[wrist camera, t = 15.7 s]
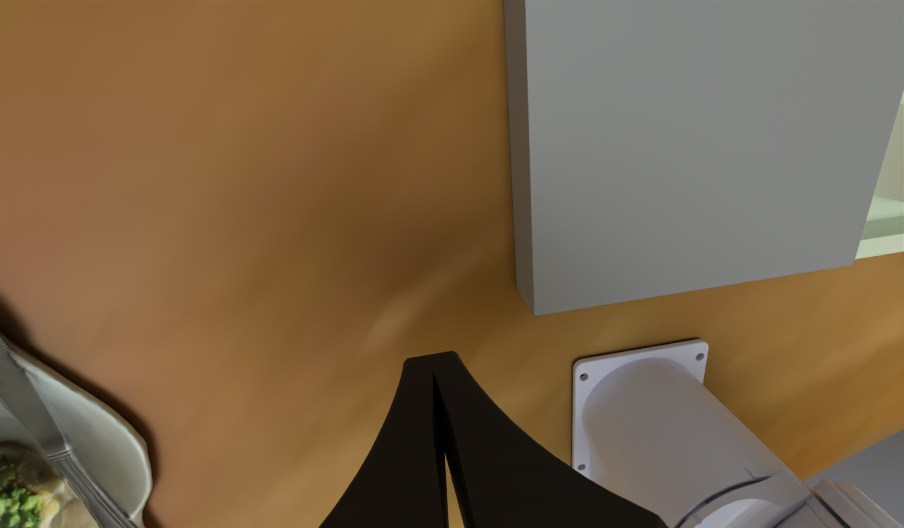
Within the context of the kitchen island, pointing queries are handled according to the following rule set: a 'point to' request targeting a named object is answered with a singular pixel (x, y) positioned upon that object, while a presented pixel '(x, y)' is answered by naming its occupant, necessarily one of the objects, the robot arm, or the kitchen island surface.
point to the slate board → (693, 140)
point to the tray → (883, 226)
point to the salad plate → (64, 452)
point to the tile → (893, 163)
